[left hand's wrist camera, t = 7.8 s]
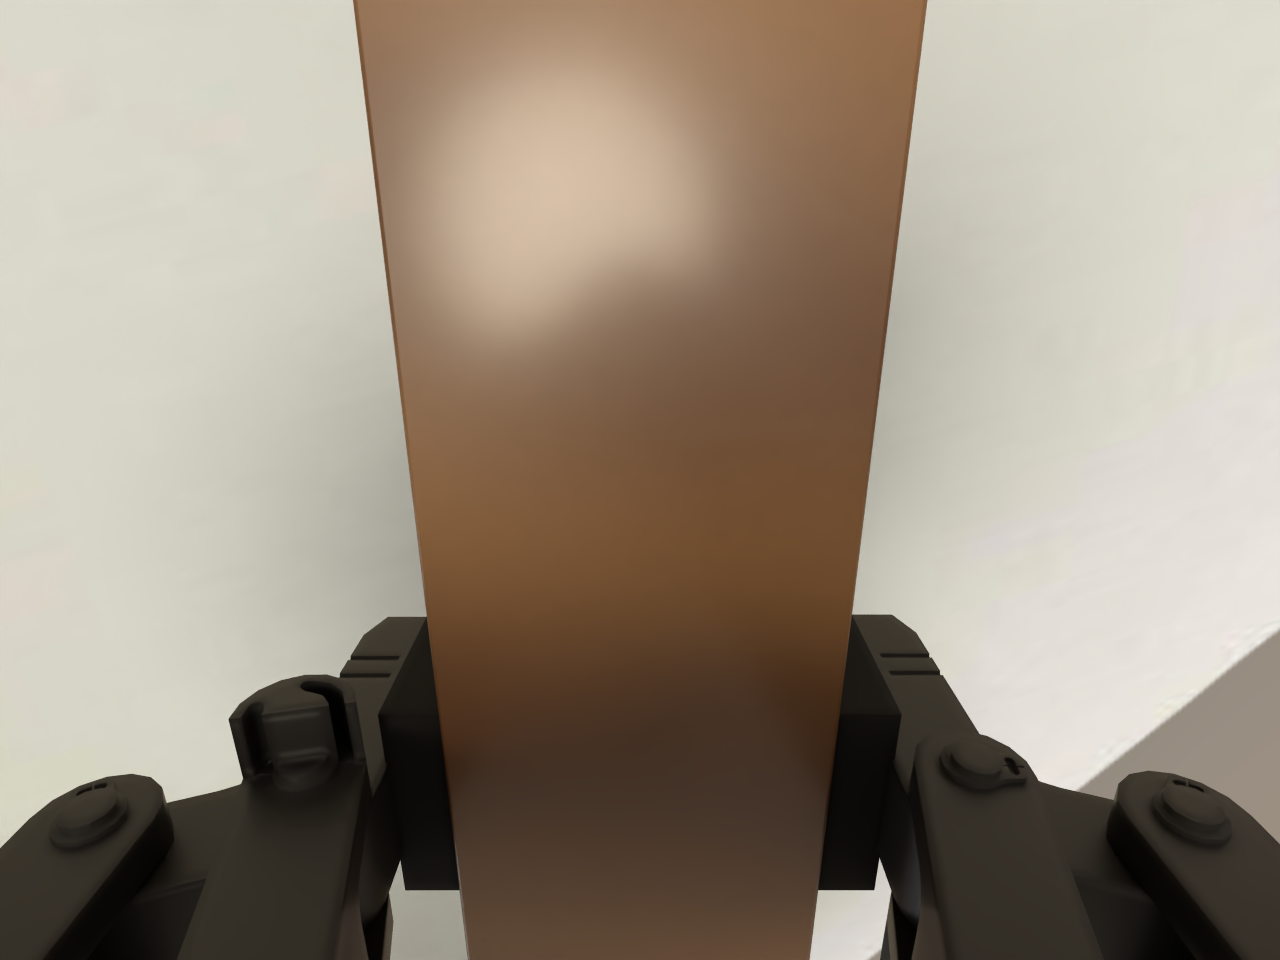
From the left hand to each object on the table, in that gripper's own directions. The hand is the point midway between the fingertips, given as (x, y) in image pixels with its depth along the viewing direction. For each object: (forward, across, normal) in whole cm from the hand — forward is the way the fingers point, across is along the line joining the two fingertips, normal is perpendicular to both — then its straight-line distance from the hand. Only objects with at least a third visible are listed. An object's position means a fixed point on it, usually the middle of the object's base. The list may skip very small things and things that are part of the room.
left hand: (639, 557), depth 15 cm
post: (+1, 0, -25) cm, 25 cm away
